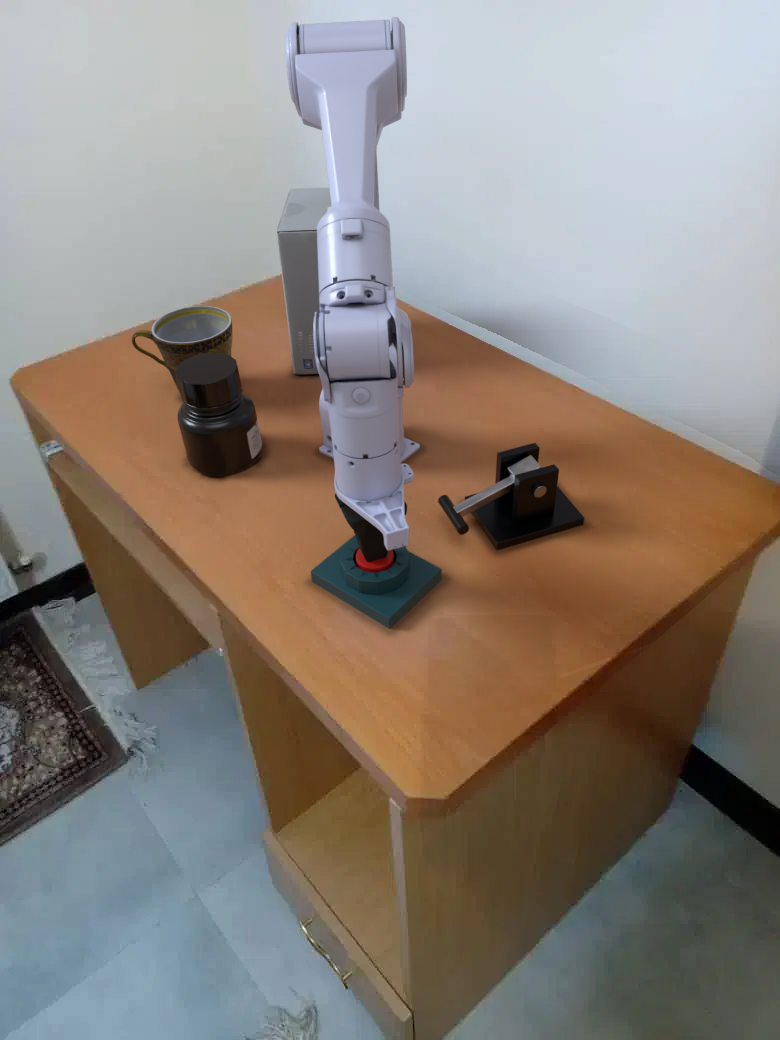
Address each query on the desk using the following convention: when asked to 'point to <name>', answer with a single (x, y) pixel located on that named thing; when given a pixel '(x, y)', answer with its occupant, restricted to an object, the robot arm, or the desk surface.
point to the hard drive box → (301, 270)
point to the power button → (374, 562)
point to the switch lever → (484, 495)
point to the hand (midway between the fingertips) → (374, 555)
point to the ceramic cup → (188, 335)
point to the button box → (377, 582)
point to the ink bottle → (216, 416)
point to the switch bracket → (526, 503)
